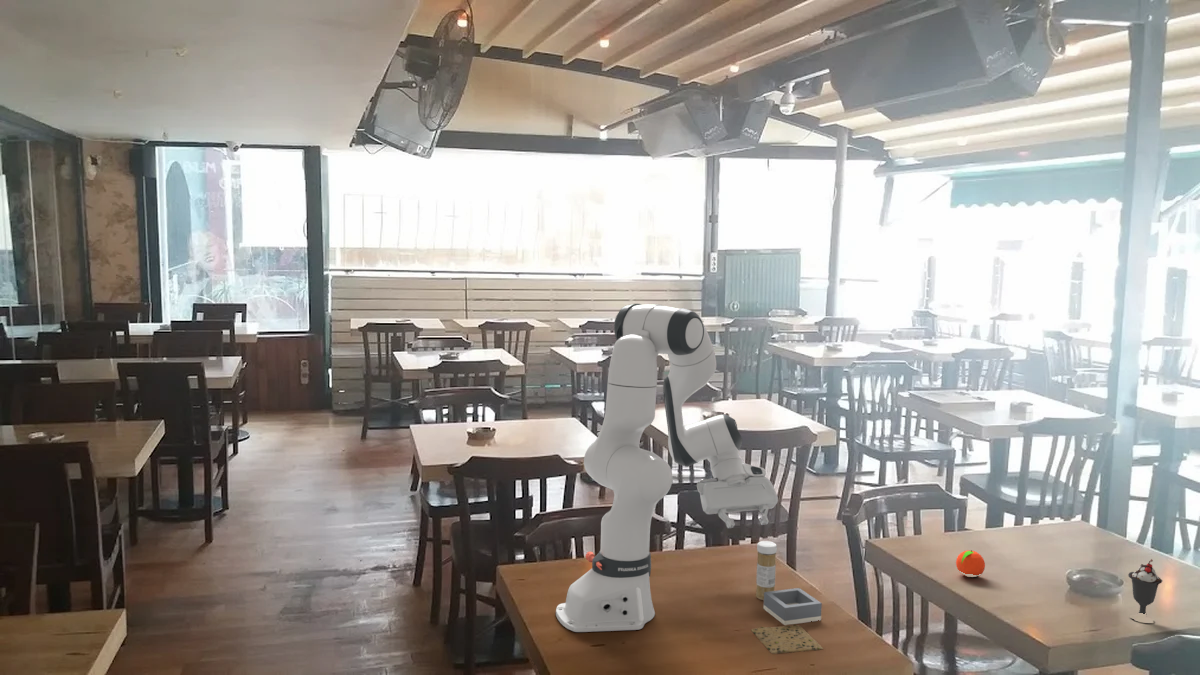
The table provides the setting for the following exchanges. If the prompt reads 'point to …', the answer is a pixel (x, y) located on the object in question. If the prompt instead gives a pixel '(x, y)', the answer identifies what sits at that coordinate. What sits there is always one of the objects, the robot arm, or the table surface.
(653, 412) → the robot arm
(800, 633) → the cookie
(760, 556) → the sprinkles bottle
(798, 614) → the block
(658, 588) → the table surface
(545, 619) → the table surface
